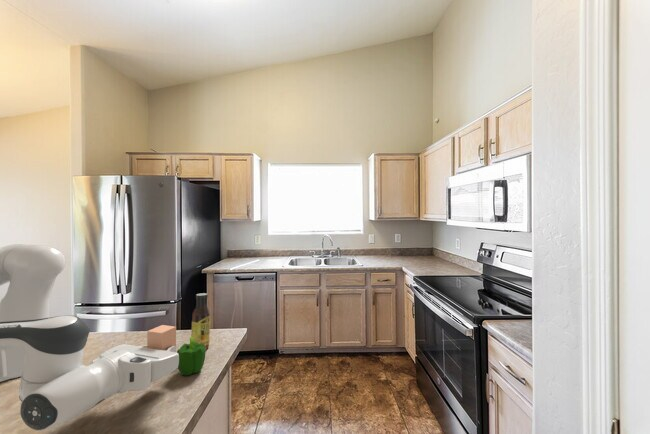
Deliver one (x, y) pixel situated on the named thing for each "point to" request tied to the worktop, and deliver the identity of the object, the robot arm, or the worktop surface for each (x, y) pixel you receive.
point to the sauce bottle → (201, 321)
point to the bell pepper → (191, 357)
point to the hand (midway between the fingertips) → (164, 347)
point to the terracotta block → (161, 337)
